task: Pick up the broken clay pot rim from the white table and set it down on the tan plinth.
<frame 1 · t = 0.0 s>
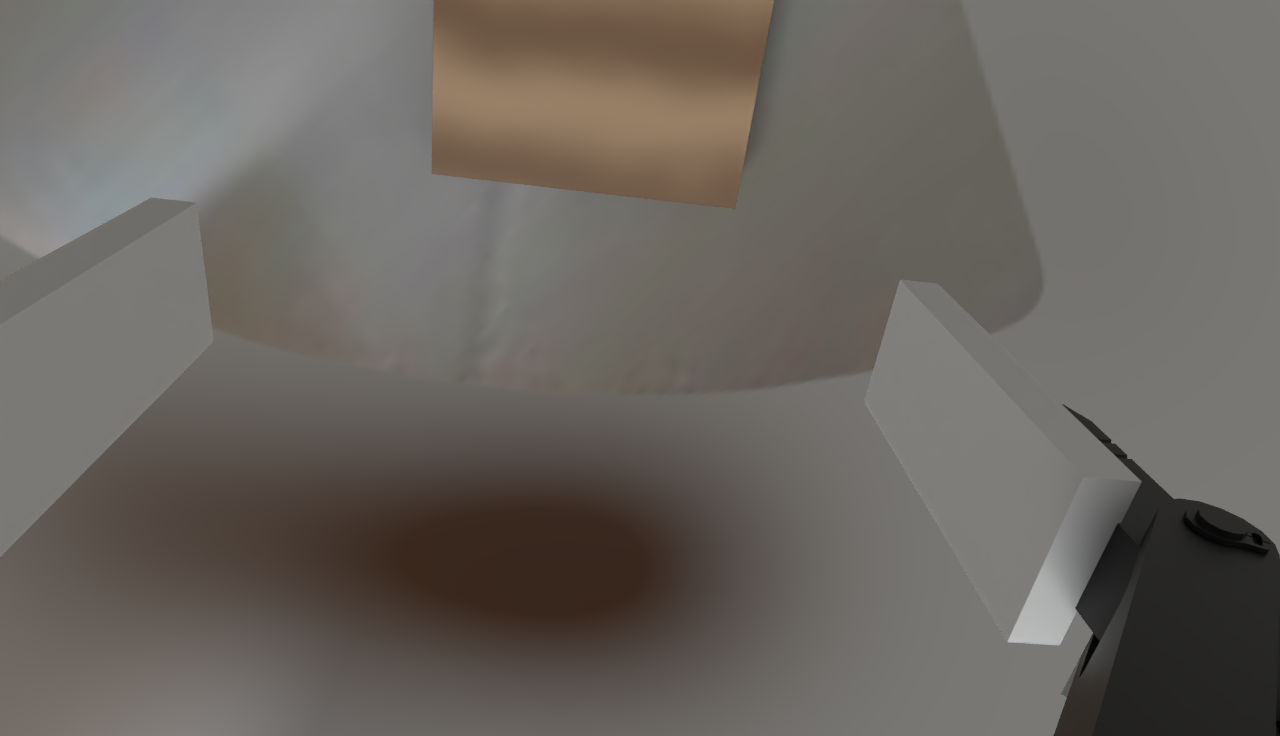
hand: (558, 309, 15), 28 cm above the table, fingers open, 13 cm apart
tan plinth: (602, 23, 39), on the table
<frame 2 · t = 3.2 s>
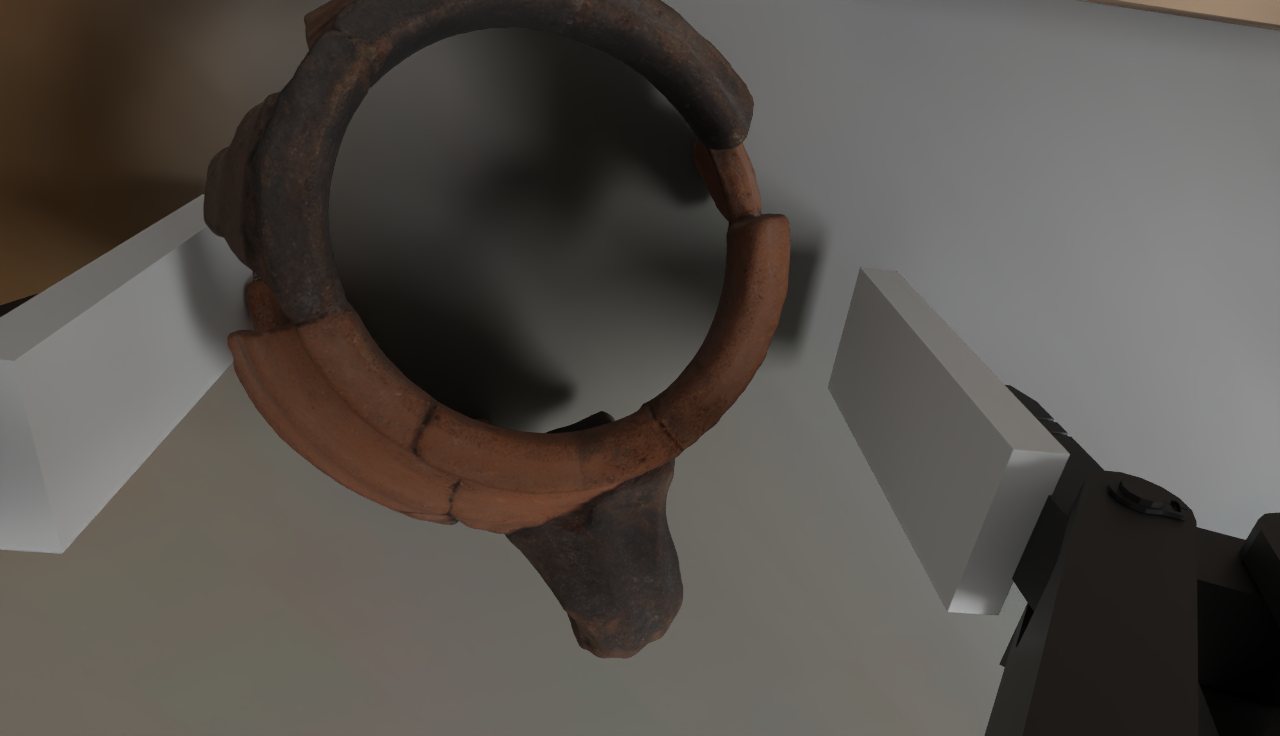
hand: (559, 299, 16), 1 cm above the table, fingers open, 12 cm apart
broken clay pot rim: (527, 279, 17), on the table, touching gripper
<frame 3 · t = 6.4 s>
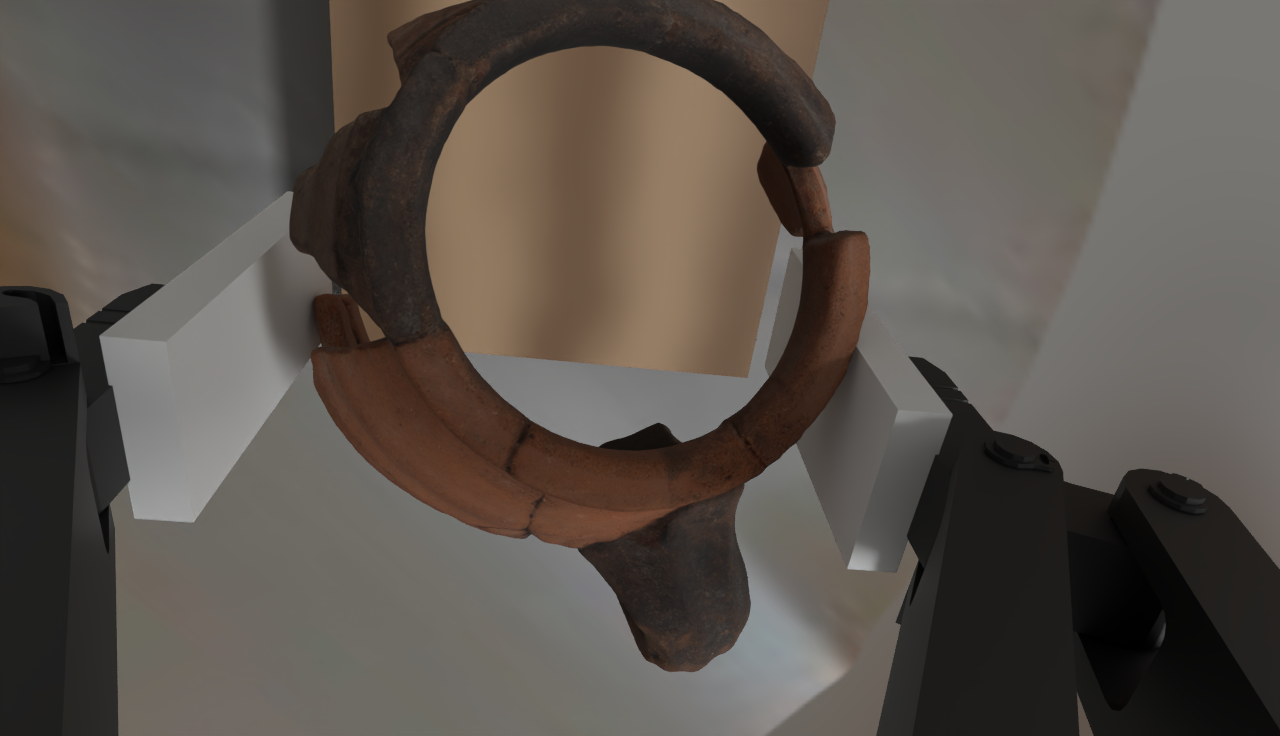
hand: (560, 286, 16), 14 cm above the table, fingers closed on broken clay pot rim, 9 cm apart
tan plinth: (570, 139, 29), on the table
broken clay pot rim: (585, 291, 17), point 14 cm above the table, touching gripper
when the fingers open (4 cm above the table, at t = 9.4 s): broken clay pot rim stays where it is, resting on tan plinth.
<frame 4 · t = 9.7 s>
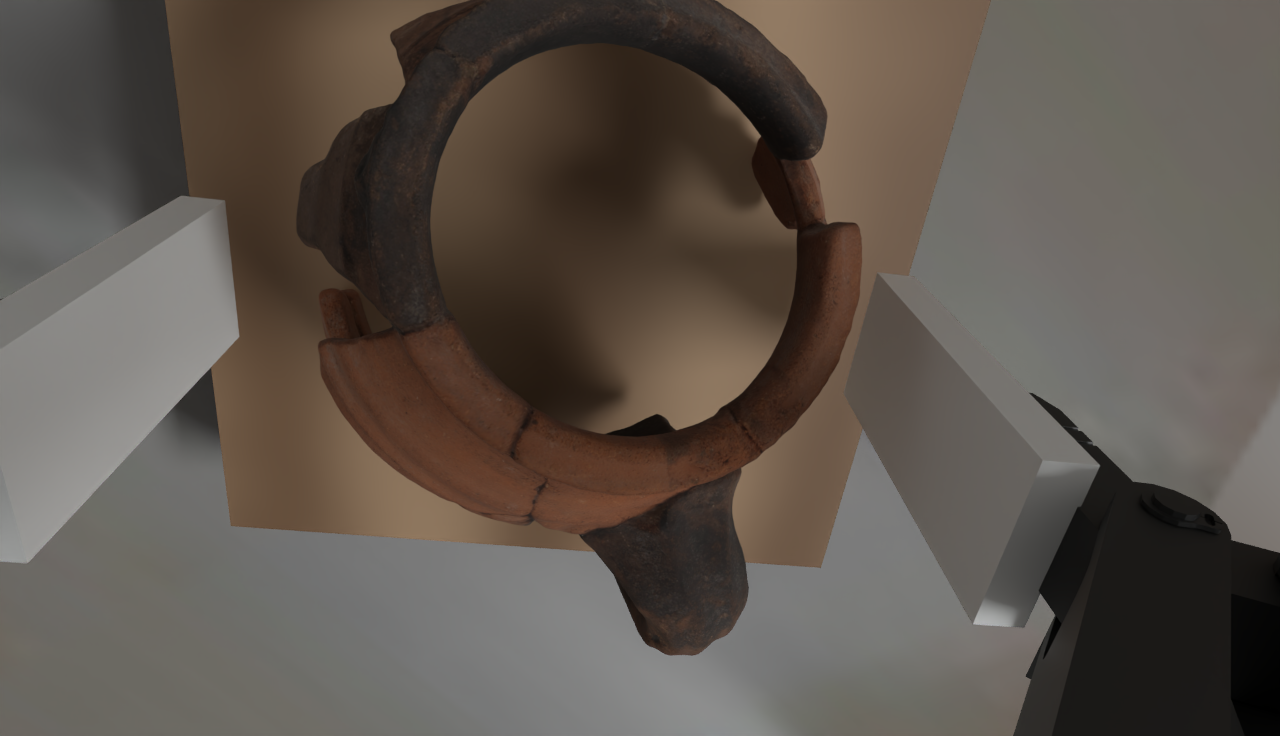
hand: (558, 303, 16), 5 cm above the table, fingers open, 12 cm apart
tan plinth: (566, 229, 20), on the table
broken clay pot rim: (584, 284, 17), point 3 cm above the table, touching tan plinth
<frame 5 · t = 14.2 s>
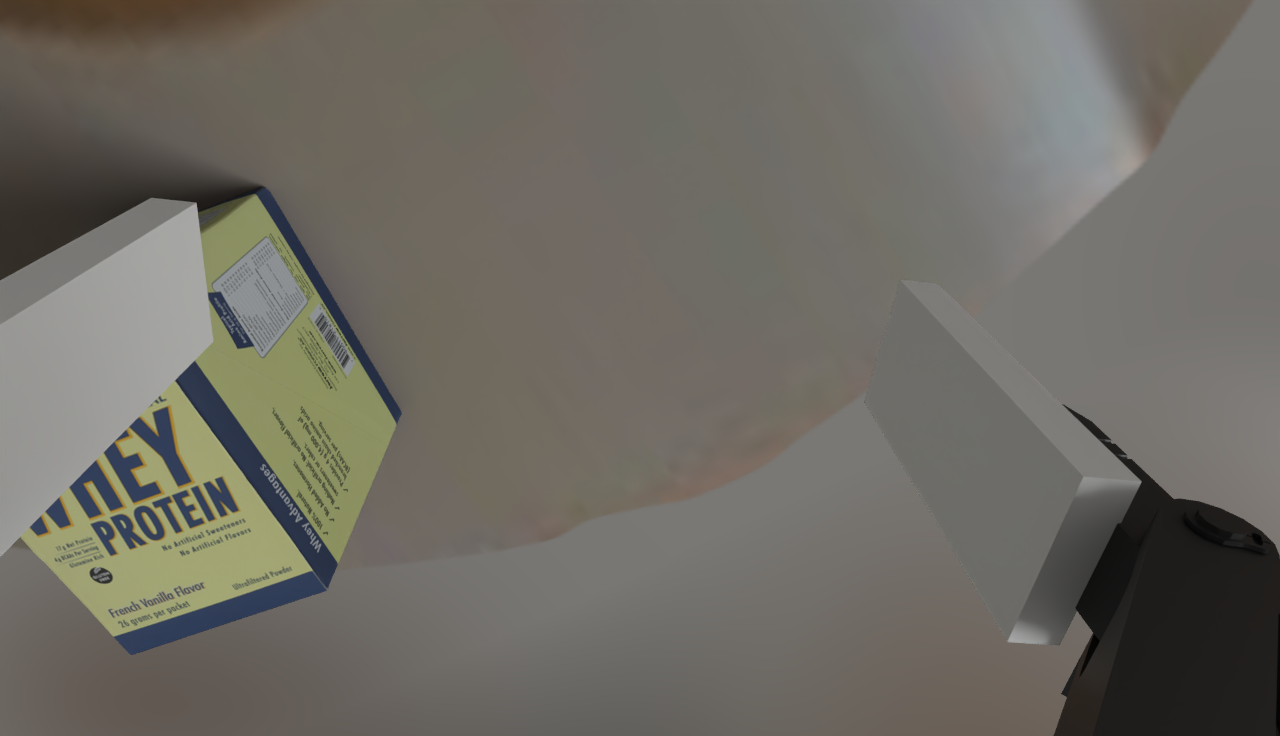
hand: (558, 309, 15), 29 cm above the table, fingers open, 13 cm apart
protein box: (263, 335, 46), on the table
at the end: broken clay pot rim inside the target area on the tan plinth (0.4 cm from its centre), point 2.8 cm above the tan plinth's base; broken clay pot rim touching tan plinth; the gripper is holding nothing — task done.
